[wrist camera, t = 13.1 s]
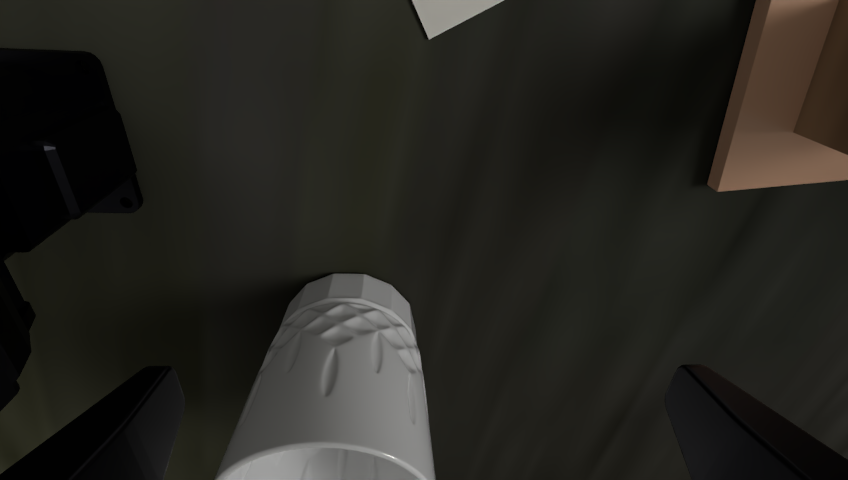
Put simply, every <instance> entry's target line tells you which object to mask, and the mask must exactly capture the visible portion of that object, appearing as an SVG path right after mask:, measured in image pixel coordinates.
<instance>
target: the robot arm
mask: <svg viewBox="0 0 848 480" xmlns="http://www.w3.org/2000/svg"><path fill="white" fill-rule="evenodd" d="M81 61H84V62H86V63H87V64H88V66H89V67H90V72H87V71H85V70H84V69H83V67H82V65H81ZM136 171H137V168H136V165H135V162H134V158H133V155H132V152H131V148H130V145H129V142H128V138H127V135H126V132H125V128H124V125H123V122H122V118H121V115H120V113H119V112H118V111H117V110H116V108H115V105H114V102H113V99H112V95H111V92H110V89H109V85H108V82H107V79H106V75H105V72H104V69H103V66H102V64H101V62H100V60H99V59H98V58H97V57H96V56H95V55H93V54H91V53H89V52H85V51H62V50H36V49H9V48H0V411H1V410H2V409H3V408H4V407H5V406H6V405H7V404H8V403H9V402H10V401H11V400H12V399H13V398H14V397H15V395H16V394H17V393H18V391H19V389H20V387H19V384H18V383H17V381H16V380H17V379H18V377H19V376H20V374H21V372H22V370H23V368H24V366H25V364H26V362H27V360H28V357H29V355H30V353H31V344H30V335H29V330H30V328H31V326H32V323H33V321H34V319H35V317H36V314H35V312H34V311H33V309H32V307H31V305H30V303H29V302H26V301H24V300H23V298H22V296H21V294H20V292H19V290H18V288H17V286H16V284H15V282H14V280H13V278H12V276H11V274H10V272H9V270H8V269H7V267H6V265H5V263H4V261H5V260H6V259H7V258H9V257H10V256H11V255H13V254H14V253H16V252H29V251H31V250H32V249H33V248H35V247H36V246H37V245H39V244H40V243H41V242H43V241H44V240H45V239H47V238H48V237H49V236H50V235H52V234H53V233H54V232H56V231H57V230H58V229H60V228H61V227H62V226H64V225H65V224H66V223H67V222H69V221H70V220H71V219H78V218H80V217H81V216H82V215H84V214H85V213H86V212H96V213H133V212H135V211H137V210H138V209H139V208H140V207H141V206H142V204H143V198H142V194H141V191H140V188H139V185H138V181H137V178H136V175H135V173H136ZM125 197H126V198H129V199H130V200H131V201H132V203H133V204H131V203H128V202H127V201H126V200H125ZM665 406H666V410H667V412H668V415H669V418H670V421H671V423H672V426H673V429H674V432H675V434H676V437H677V440H678V443H679V445H680V448H681V451H682V454H683V457H684V459H685V462H686V465H687V468H688V470H689V473H690V476H691V478H692V480H848V460H847V459H846V458H844V457H843V456H841V455H840V454H838V453H837V452H835V451H834V450H832V449H831V448H829V447H828V446H826V445H825V444H823V443H822V442H820V441H819V440H817V439H816V438H814V437H813V436H811V435H810V434H808V433H807V432H805V431H804V430H802V429H800V428H799V427H797V426H796V425H794V424H793V423H791V422H790V421H788V420H787V419H785V418H784V417H782V416H781V415H779V414H778V413H776V412H775V411H773V410H772V409H770V408H769V407H767V406H766V405H764V404H763V403H761V402H760V401H758V400H757V399H755V398H754V397H752V396H751V395H749V394H748V393H746V392H745V391H743V390H742V389H740V388H739V387H737V386H736V385H734V384H733V383H731V382H730V381H728V380H727V379H725V378H724V377H722V376H721V375H719V374H718V373H716V372H715V371H713V370H712V369H710V368H708V367H707V366H704V365H681V366H680V367H679V368H678V369H677V370H676V372H675V375H674V377H673V379H672V381H671V383H670V385H669V387H668V390H667V392H666V394H665ZM184 408H185V399H184V395H183V392H182V389H181V386H180V383H179V380H178V377H177V374H176V371H175V369H174V368H173V367H171V366H148V367H145V368H143V369H142V370H140V371H139V372H138V373H136V374H135V375H134V376H132V377H131V378H130V379H128V380H127V381H126V382H124V383H123V384H121V385H120V386H119V387H117V388H116V389H115V390H113V391H112V392H111V393H109V394H108V395H107V396H105V397H104V398H103V399H101V400H100V401H99V402H97V403H96V404H95V405H93V406H92V407H90V408H89V409H88V410H86V411H85V412H84V413H82V414H81V415H80V416H78V417H77V418H76V419H74V420H73V421H72V422H70V423H69V424H68V425H66V426H65V427H64V428H62V429H61V430H59V431H58V432H57V433H55V434H54V435H53V436H51V437H50V438H49V439H47V440H46V441H45V442H43V443H42V444H41V445H39V446H38V447H37V448H35V449H34V450H33V451H31V452H30V453H28V454H27V455H26V456H24V457H23V458H22V459H20V460H19V461H18V462H16V463H15V464H14V465H12V466H11V467H10V468H8V469H7V470H6V471H4V472H3V473H1V474H0V480H163V479H164V476H165V472H166V469H167V466H168V462H169V459H170V456H171V452H172V449H173V446H174V443H175V439H176V436H177V433H178V429H179V426H180V423H181V419H182V416H183V413H184Z"/></svg>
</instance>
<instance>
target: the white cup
mask: <svg viewBox="0 0 848 480" xmlns="http://www.w3.org/2000/svg"><path fill="white" fill-rule="evenodd" d="M214 480H436V479H435V471H434V462H433V454H432V445H431V436H430V427H429V418H428V409H427V401H426V392H425V385H424V378H423V372H422V368H421V359H420V352H419V349H418V347H417V343H416V332H415V325H414V321H413V317H412V313H411V308H410V305H409V303H408V302H407V301H406V300H405V299H404V298H403V297H402V296H401V294H400V293H399V292H398V291H397V290H396V289H395V288H394V287H393V286H392V285H390V284H388V283H386V282H383V281H381V280H378V279H376V278H373V277H371V276H368V275H366V274H340V273H334V274H331V275H328V276H326V277H323V278H321V279H318V280H315V281H313V282H310V283H308V284H306V285H305V287H304V288H303V289H302V290H301V291H300V292H299V293H298V294H297V295H296V296H295V297H294V299H293V300H292V301H291V302H290V303H289V306H288V308H287V311H286V313H285V316H284V318H283V321H282V323H281V326H280V329H279V331H278V333H277V334H276V336H275V338H274V340H273V341H272V343H271V345H270V347H269V349H268V352H267V354H266V357H265V359H264V362H263V365H262V367H261V368H260V370H259V372H258V374H257V376H256V379H255V381H254V384H253V386H252V388H251V391H250V393H249V396H248V398H247V401H246V403H245V405H244V408H243V410H242V413H241V415H240V418H239V420H238V423H237V425H236V427H235V430H234V432H233V435H232V437H231V440H230V442H229V445H228V447H227V449H226V452H225V454H224V457H223V459H222V461H221V464H220V466H219V469H218V471H217V473H216V476H215V478H214Z"/></svg>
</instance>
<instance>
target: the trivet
mask: <svg viewBox="0 0 848 480" xmlns="http://www.w3.org/2000/svg"><path fill="white" fill-rule="evenodd" d="M838 2H839V0H756V2H755V6H754V10H753V14H752V17H751V21H750V25H749V29H748V32H747V36H746V40H745V44H744V47H743V51H742V55H741V59H740V62H739V66H738V70H737V74H736V77H735V81H734V85H733V89H732V93H731V96H730V100H729V104H728V108H727V111H726V115H725V119H724V123H723V126H722V130H721V134H720V138H719V141H718V145H717V149H716V153H715V156H714V160H713V164H712V168H711V172H710V175H709V179H708V183H707V185H708V186H710V187H711V188H713V189H714V190H716V191H717V192H721V191H731V190H742V189H753V188H764V187H775V186H786V185H797V184H808V183H819V182H830V181H841V180H848V155H846V154H844V153H841V152H839V151H837V150H834V149H832V148H829V147H827V146H825V145H822V144H820V143H817V142H815V141H813V140H810V139H808V138H805V137H803V136H800V135H798V134H796V133H793V131H794V128H795V125H796V122H797V120H798V117H799V114H800V111H801V108H802V105H803V102H804V100H805V97H806V94H807V91H808V88H809V85H810V82H811V79H812V77H813V74H814V71H815V68H816V65H817V62H818V59H819V56H820V54H821V51H822V48H823V45H824V42H825V39H826V36H827V34H828V31H829V28H830V25H831V22H832V19H833V16H834V13H835V11H836V8H837V5H838Z"/></svg>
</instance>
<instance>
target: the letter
mask: <svg viewBox="0 0 848 480" xmlns="http://www.w3.org/2000/svg"><path fill="white" fill-rule="evenodd" d="M502 1H503V0H412V2H413V4H414V6H415V8H416V11H417V13H418V15H419V18H420V20H421V22H422V25H423V27H424V29H425V31H426V34H427V36H428V38H429V39H431V38H433V37H435V36H437V35H438V34H440V33H442V32H444V31H446V30H448V29H450V28H452V27H454V26H456V25H458V24H460V23H461V22H463V21H465V20H467V19H469V18H471V17H473V16H475V15H477V14H479V13H481V12H482V11H484V10H486V9H488V8H490V7H492V6H494V5H496V4H498V3H500V2H502Z"/></svg>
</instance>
